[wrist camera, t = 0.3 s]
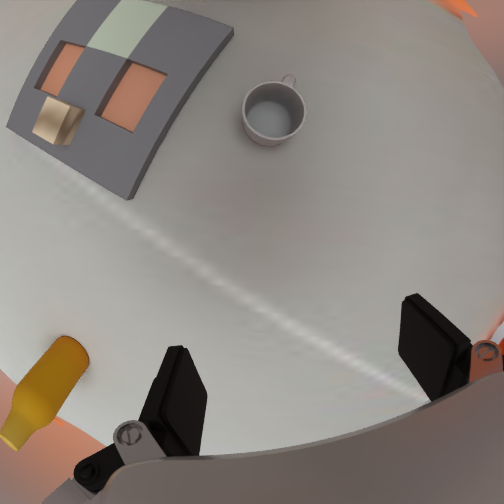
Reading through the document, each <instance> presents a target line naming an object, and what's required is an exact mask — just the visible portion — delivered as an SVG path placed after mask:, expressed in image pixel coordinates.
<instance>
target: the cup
mask: <svg viewBox="0 0 504 504" xmlns="http://www.w3.org/2000/svg"><path fill="white" fill-rule="evenodd" d="M295 83H296V78H295V77H294V76H293V75H290V74H287V75H286V76H285V77H283V79H282V81H281V82H279V81H268V82H263V83H260V84H258V85H256V86H254V87H253V88H252V89H251V90H250V91H249V92H248V93H247V95H246V96H245V98H244V101H243V104H242V116H243V125H244V129H245V131H246V133H247V135H248V136H249V137H250V138H251V139H252V140H253V141H254V142H256V143H258V144H260V145H264V146H275V145H279V144H281V143H283V142H285V141H286V140H288V139H289V138H290V137H292V136H293V135H294V134H295V133H297V132H298V131H299V130H300V129H301V127H302V126H303V124H304V122H305V118H306V105H305V102H304V99H303V98H302V96H301V94H300V93H299V92H298V91H297V90H296V89H295V88H293V87H294V85H295Z"/></svg>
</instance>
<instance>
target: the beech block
mask: <svg viewBox="0 0 504 504" xmlns="http://www.w3.org/2000/svg"><path fill="white" fill-rule="evenodd" d="M84 113H85V110H83V109H81V108H79V107H77V106H74V105H72V104H70V103H68V102H66V101H63V100H60V99H56V98H52V97H49V96H47V98H46V101H45V103H44V105H43V107H42V109H41V112H40V114H39V116H38V119H37V121H36V123H35V126H34V128H33V131H32V132H33V133H34V134H36V135H38V136H40V137H41V138H43V139H45V140H46V141H48V142H50V143H52V144H53V145H70V144H71V141H72V139H73V137H74V134H75V132H76V130H77V128H78V126H79V124H80V121H81V119H82V117H83V115H84Z"/></svg>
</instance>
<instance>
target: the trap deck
mask: <svg viewBox="0 0 504 504" xmlns="http://www.w3.org/2000/svg"><path fill="white" fill-rule="evenodd" d="M233 36H234V29H233V27H230V26H228V25H225V24H222V23H220V22H217V21H214V20H212V19H209V18H206V17H203V16H200V15H197V14H194V13H190V12H187V11H184V10H180V9H177V8H173V7H169V6H165V5H161V4H157V3H152V2H148V1H143V0H77V1H76V2H75V3H74V5H73V6H72V7H71V8H70V10H69V11H68V12H67V14H66V15H65V16H64V18H63V19H62V20H61V22H60V23H59V25H58V26H57V28H56V29H55V30H54V32H53V33H52V35H51V37H50V38H49V40H48V41H47V43H46V44H45V46H44V48H43V49H42V51H41V53H40V54H39V56H38V58H37V60H36V61H35V63H34V65H33V67H32V69H31V71H30V73H29V75H28V77H27V79H26V81H25V83H24V85H23V87H22V89H21V91H20V93H19V96H18V98H17V100H16V103H15V105H14V107H13V110H12V112H11V115H10V117H9V120H8V123H7V126H6V127H7V128H9V129H10V130H12V131H13V132H15V133H16V134H18V135H20V136H21V137H23V138H24V139H26V140H28V141H29V142H31V143H32V144H34V145H36V146H37V147H39V148H40V149H42V150H44V151H45V152H47V153H48V154H50V155H52V156H53V157H55V158H57V159H58V160H60V161H61V162H63V163H65V164H66V165H68V166H70V167H71V168H73V169H75V170H76V171H78V172H79V173H81V174H83V175H84V176H86V177H88V178H89V179H91V180H93V181H94V182H96V183H98V184H99V185H101V186H103V187H104V188H106V189H108V190H109V191H111V192H113V193H115V194H116V195H118V196H120V197H121V198H123V199H125V200H126V201H127V200H130V199H133V198H134V195H135V193H136V191H137V189H138V187H139V185H140V183H141V181H142V179H143V177H144V175H145V173H146V171H147V169H148V167H149V165H150V163H151V161H152V159H153V157H154V155H155V153H156V151H157V150H158V148H159V146H160V144H161V142H162V141H163V139H164V137H165V135H166V133H167V132H168V130H169V128H170V127H171V125H172V123H173V122H174V120H175V118H176V117H177V115H178V113H179V112H180V110H181V108H182V107H183V105H184V104H185V102H186V101H187V99H188V97H189V96H190V94H191V93H192V91H193V90H194V88H195V87H196V85H197V84H198V82H199V81H200V79H201V78H202V77H203V75H204V74H205V72H206V71H207V70H208V68H209V67H210V65H211V64H212V63H213V61H214V60H215V59H216V57H217V56H218V55H219V53H220V52H221V51H222V49H223V48H224V47H225V46H226V44H227V43H228V42H229V41H230V39H231V38H232V37H233ZM47 96H49V97H52V98H56V99H60V100H63V101H66V102H68V103H70V104H72V105H74V106H77V107H79V108H81V109H83V110H85V113H84V115H83V117H82V119H81V121H80V124H79V126H78V128H77V130H76V132H75V134H74V137H73V139H72V141H71V144H70V145H53V144H52V143H50V142H48V141H46V140H45V139H43V138H41V137H40V136H38V135H36V134H34V133H33V132H32V131H33V128H34V126H35V123H36V121H37V119H38V116H39V114H40V112H41V109H42V107H43V105H44V103H45V101H46V98H47Z"/></svg>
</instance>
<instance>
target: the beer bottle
mask: <svg viewBox="0 0 504 504" xmlns="http://www.w3.org/2000/svg"><path fill="white" fill-rule="evenodd" d="M88 363H89V359H88V355H87V353H86V351H85V350H84V348H83V347H82V346H81V345H80V344H79V343H78V342H77V341H76V340H74V339H73V338H70V337H67V336H63V337H60V338H58V339H57V340H56V341H55V342H54V343H53V344H52V345H51V347H50V348H49V349H48V350H47V351H46V352H45V353H44V355H43V356H42V357H41V358H40V359H39V360H38V361H37V363H36V364H35V365H34V366H33V367H32V368H31V370H30V371H29V372H28V373H27V374H26V375H25V377H24V378H23V379H22V380H21V381H20V383H19V384H18V385H17V387H16V389H15V391H14V394H13V399H12V407H11V411H10V413H9V415H8V417H7V419H6V421H5V423H4V425H3V427H2V429H1V431H0V437H1V438H2V439H3V440H4V442H6V443H7V444H8V445H9V446H10V447H11V448H12V449H14V450H16V451H19V449H20V448H21V447H22V446H23V445H24V443H25V442H26V441H27V440H28V438H29V437H30V436H31V435H32V434H33V433H34V432H35V431H36V430H38V429H40V428H43V427H45V426H47V425H48V424H49V423H51V421H52V420H53V419H54V418H55V416H56V414H57V413H58V411H59V409H60V408H61V406H62V405H63V403H64V401H65V400H66V398H67V397H68V395H69V394H70V392H71V391H72V389H73V388H74V386H75V385H76V383H77V381H78V380H79V378H80V377H81V376H82V374H83V373H84V372H85V370H86V369H87V367H88Z"/></svg>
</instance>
